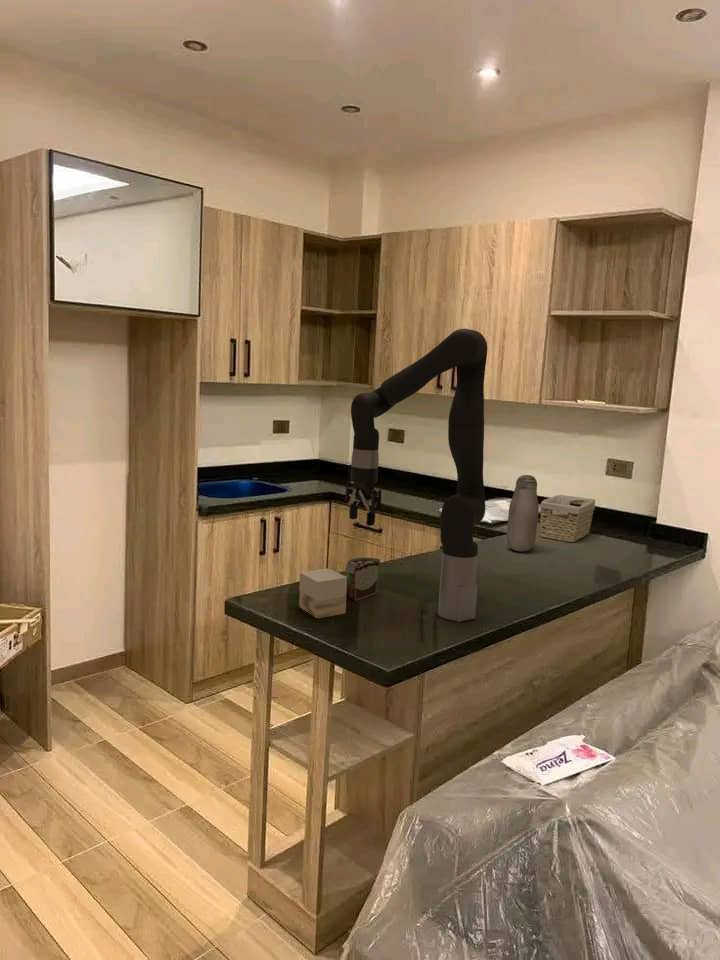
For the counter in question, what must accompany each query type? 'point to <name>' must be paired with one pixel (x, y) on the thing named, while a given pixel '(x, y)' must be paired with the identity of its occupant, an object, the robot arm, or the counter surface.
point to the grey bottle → (523, 514)
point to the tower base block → (322, 606)
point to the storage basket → (566, 517)
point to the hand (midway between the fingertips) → (361, 522)
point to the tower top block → (323, 584)
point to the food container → (362, 577)
